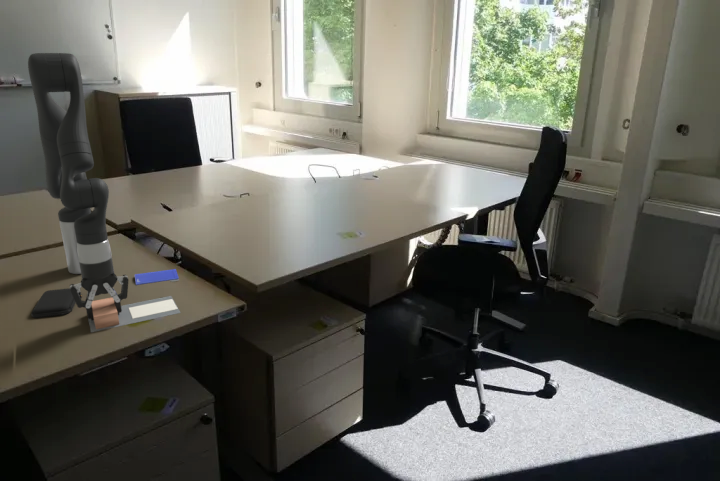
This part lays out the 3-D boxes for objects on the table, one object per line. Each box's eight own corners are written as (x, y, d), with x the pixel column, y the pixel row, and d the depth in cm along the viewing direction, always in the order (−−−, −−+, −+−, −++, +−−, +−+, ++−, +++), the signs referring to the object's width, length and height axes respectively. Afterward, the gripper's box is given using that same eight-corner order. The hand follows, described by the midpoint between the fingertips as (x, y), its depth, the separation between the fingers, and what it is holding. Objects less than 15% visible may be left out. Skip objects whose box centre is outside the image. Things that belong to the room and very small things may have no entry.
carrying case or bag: (75, 317, 143) (85, 294, 156) (73, 307, 142) (83, 284, 155) (30, 322, 140) (44, 298, 153) (28, 312, 139) (42, 288, 152)
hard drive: (135, 283, 160) (178, 277, 165) (134, 273, 167) (175, 268, 172) (136, 288, 161) (179, 282, 166) (135, 278, 168) (176, 272, 173)
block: (92, 313, 143) (90, 301, 142) (114, 308, 146) (112, 297, 144) (96, 329, 135) (93, 317, 134) (119, 324, 138) (117, 312, 136)
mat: (87, 314, 143) (86, 312, 143) (171, 297, 154) (171, 295, 154) (91, 334, 134) (90, 331, 134) (180, 314, 144) (180, 312, 144)
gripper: (123, 247, 141) (132, 305, 147) (62, 257, 134) (73, 316, 140) (128, 256, 135) (136, 316, 140) (64, 267, 128) (75, 329, 134)
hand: (105, 316), depth 140 cm, fingers closed on block, 5 cm apart
